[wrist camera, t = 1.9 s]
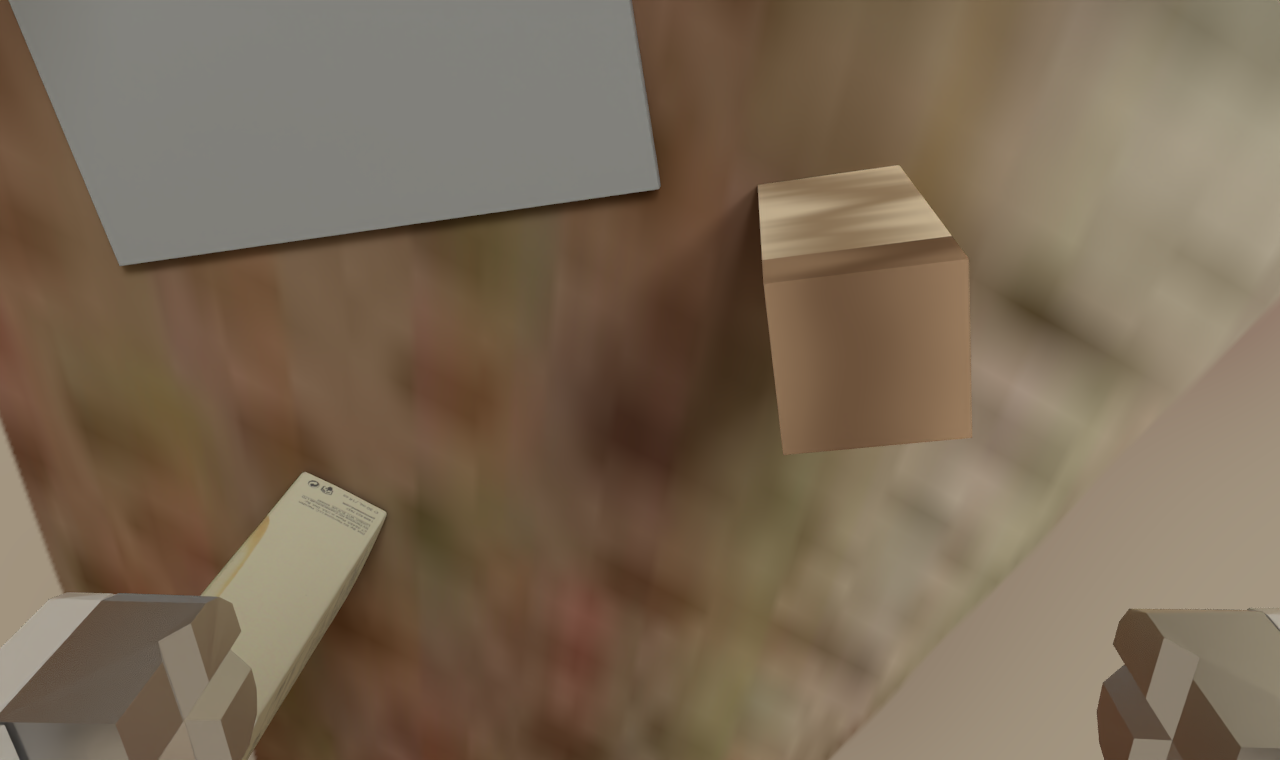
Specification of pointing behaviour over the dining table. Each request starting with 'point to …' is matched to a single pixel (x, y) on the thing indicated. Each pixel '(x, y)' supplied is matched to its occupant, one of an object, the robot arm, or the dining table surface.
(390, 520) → the dining table surface
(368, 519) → the skincare box
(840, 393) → the birch block
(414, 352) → the dining table surface
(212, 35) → the grey mat
